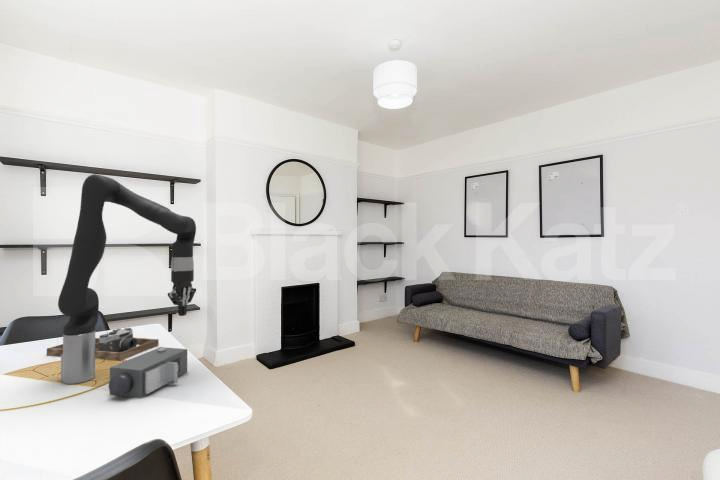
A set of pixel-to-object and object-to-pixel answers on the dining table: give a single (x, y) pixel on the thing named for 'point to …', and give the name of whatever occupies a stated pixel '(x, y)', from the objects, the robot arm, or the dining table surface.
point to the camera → (117, 340)
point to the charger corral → (59, 349)
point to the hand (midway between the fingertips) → (182, 315)
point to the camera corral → (144, 345)
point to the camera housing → (143, 370)
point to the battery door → (160, 376)
